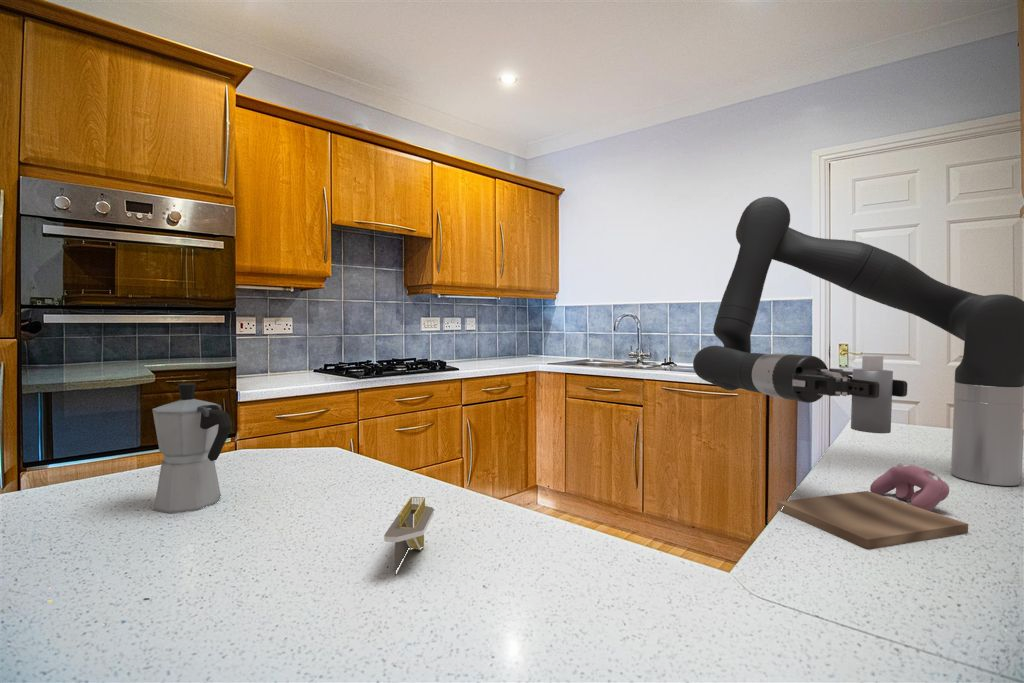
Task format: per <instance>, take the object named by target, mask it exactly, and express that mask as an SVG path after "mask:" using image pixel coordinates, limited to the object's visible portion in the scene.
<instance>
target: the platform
mask: <svg viewBox="0 0 1024 683" xmlns="http://www.w3.org/2000/svg"><path fill="white" fill-rule="evenodd" d="M434 515H435V509H434V507H432V506H428V505H426V496H418V497H417V496H410V497H409V499H408V500H407V502H406V503H405V505H403V506H402V508H401V510H400V512H399V513H398V514H397V516H396V518H394V520H393V522H392V523H391V524H390V526H389V527H388V529H387V530H386V532H385V534H383V541H384V542H387V543H394V571H395V570H397V568H398V567H399V565H400V563H401V561H402V559H403V558H404V556H405V554H406V552H407V550H408V548H410V551H411V548H418V549H417V550H419V549H420V548H421V547H423V546H424V547H425V533H426V530H427V529H428V526H429V525H430V523H431V521H432V519H433V516H434Z"/></svg>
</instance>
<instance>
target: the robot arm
mask: <svg viewBox="0 0 1024 683" xmlns="http://www.w3.org/2000/svg"><path fill="white" fill-rule="evenodd" d="M790 224H791V212H790V209H789V207H788V206H787V204H786V202H784V201H783V200H781V199H779V198H778V197H775V196H762V197H759V198H756V199H755V200H752V202H750V203H749V204H748V205H747V206H746V208H745V209H744V210H743V212H742V213H741V216H740V219H739V222H738V224H737V226H736V229H735V238H736V241H737V243H738V244H739V250H738V254H737V256H736V257H737V258H736V261H735V264H734V266H733V269H732V273H731V275H730V278H729V280H728V283H727V285H726V287H725V291H724V293H723V295H722V298H721V302H720V304H719V307H718V311H717V314H716V318H715V321H714V324H713V328H712V331H713V335H714V336H715V337H716V338H717V339H718V340H720V341H721V343H722V346H720V345H708V346H706V347H703V348H702V349H700V350H699V351H698V352H697V353H696V354H695V355H694V358H693V361H692V365H693V366H692V367H693V370H694V372H695V373H694V374H696V376H697V377H698V378H700V379H701V380H703V381H705V382H708V383H710V384H712V385H714V386H716V387H719V388H721V389H724V390H727V391H731V392H732V391H736V390H738V389H743V390H744V391H745V390H746V391H749V392H753V393H758V394H759V393H760V394H764V395H767V396H770V397H773V398H779V399H785V400H790V401H795V402H801V403H806V404H807V403H809V404H811V403H815V402H817V401H819V400H821V399H822V398H823V396H829V397H840V396H842V397H847V396H852V395H854V396H861V397H868V398H877V397H879V383H878V382H875V381H867V380H858V379H852V375H853V370H844V369H842V368H832V367H831V368H828V366H827V365H826V363H825V362H824V361H823V359H821V358H820V357H818V356H815V355H806V354H805V355H804V354H792V353H791V354H790V353H778V352H777V353H760V352H759V353H758V352H751V350H752V346H751V345H752V344H751V342H752V341H751V338H752V337H751V335H752V331H753V328H754V326H755V325H754V324H755V321H756V317H757V314H758V310H759V306H760V304H761V298H762V295H763V291H764V286H765V283H766V280H767V275H768V272H769V269H770V266H771V263H772V260H773V261H775V262H776V261H777V262H780V263H783V264H786V265H788V266H791V267H794V268H797V269H799V270H801V271H804V272H805V273H808V274H810V275H812V276H815V277H817V278H820V279H822V280H825V281H827V282H828V283H831V284H834V285H836V286H838V287H840V288H843V289H845V290H846V291H849V292H851V293H853V294H855V295H858V296H861V297H863V298H866V299H867V300H871V301H874V302H875V303H876V302H877V303H879V304H882V305H885V306H887V307H889V308H894V309H896V310H899V311H902V312H906V313H908V314H911V315H914V316H915V317H918V318H920V319H922V320H925V321H926V322H928V323H930V324H932V325H934V326H936V327H938V328H940V329H941V330H944V331H945V332H947V333H949V334H951V335H952V336H954V337H956V338H958V339H960V340H961V341H963V354H962V358H961V361H960V364H958V365H957V366H956V368H955V370H954V384H953V385H954V388H953V415H952V416H953V418H952V435H951V436H952V440H951V442H952V443H951V457H950V458H951V460H950V461H951V462H950V474H951V475H952V476H955V477H957V478H958V479H962V480H966V481H971V482H974V483H979V484H986V485H993V486H1003V487H1005V486H1006V487H1009V486H1010V487H1011V486H1013V487H1014V486H1019V485H1020V484H1021V481H1022V478H1023V476H1022V473H1023V472H1022V471H1023V455H1024V454H1023V453H1024V429H1023V423H1024V300H1022V299H1021V298H1020V297H1017V296H1014V295H1010V294H1005V293H1004V294H1003V293H1001V294H998V293H997V294H996V293H995V294H986V295H982V294H978V293H973V292H971V291H966V290H964V289H960V288H958V287H954V286H953V285H952V286H951V285H948V284H946V283H944V282H941V281H939V280H936V279H934V277H931V276H930V275H928V274H927V273H926V272H924V271H922V270H921V269H920V268H918V267H917V266H915V265H914V264H912V263H911V262H910V261H908V260H906V259H905V258H903V257H901V256H898V255H896V254H894V253H892V252H890V251H886V250H884V249H881V248H879V247H877V246H873V245H871V244H868V243H864V242H862V241H855V240H850V239H848V240H847V239H836V238H835V239H834V238H822V237H815V236H812V235H809V234H805V233H803V232H800V231H798V230H796V229H794V228H791V226H790ZM789 226H790V227H789ZM906 396H908V381H906V380H901V379H893V383H892V397H897V398H899V397H900V398H901V397H902V398H904V397H906ZM1020 480H1021V481H1020Z"/></svg>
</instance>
